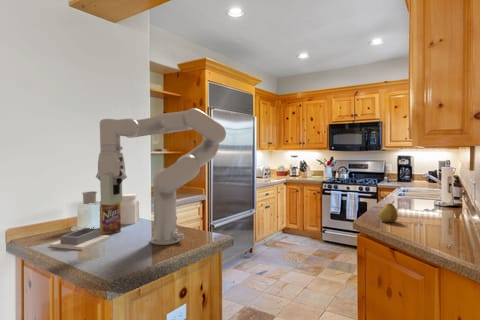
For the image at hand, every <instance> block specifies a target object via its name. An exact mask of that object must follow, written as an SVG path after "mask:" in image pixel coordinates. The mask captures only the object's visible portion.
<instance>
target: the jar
mask: <svg viewBox="0 0 480 320" xmlns="http://www.w3.org/2000/svg"><path fill="white" fill-rule="evenodd" d="M139 221H140V202H139V200H138V199H137V194H136V193H122V202H121V225H123V226H124V225H125V226H127V225H134V224H136V223H137V222H139Z"/></svg>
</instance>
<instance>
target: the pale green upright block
mask: <svg viewBox="0 0 480 320" xmlns="http://www.w3.org/2000/svg"><path fill="white" fill-rule="evenodd" d="M120 178H121V177H120ZM99 184H100V185H99V187H100V201H101V205H111V204H115V203H118V202H122V195H123V181H122V182H121V184H120V194H117V195H114V194H113V185H115V184H114V179H113V177H112V174H101V175H100V180H99Z"/></svg>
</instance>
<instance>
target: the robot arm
mask: <svg viewBox="0 0 480 320" xmlns="http://www.w3.org/2000/svg"><path fill="white" fill-rule="evenodd" d="M191 130H194V131H196V132H197V133H198V134H200V135H201V136H202V140H201V142H200V144H199V145H198V146H196V147H195V148H194V149H192V150H190V151H189V152H187V153H185V154H183V155H182V156H180V157H179V158H177V160H176V162H174V163H172V164H171V165H170V166H168V167H167V168H166V167H165V168H160V169H158V170H157V171H156V172H155V173H154V176H153V179H152V184H153V235H154V236H152V237H150V240H149V241H150V243H151V244H152V245H157V246H167V245H173V244H176V243H178V242H180V240H184V239H185V237H186V236H185V233H184V232H180V231H179V230H180V229H178V228H177V190H178V189H180V188H182V187H183V186H184V185H185V184H187V183H189V182H190V181H191V180H193V179H194V178H196V177H197V176H198V175H199V173H200V171H201V168H202V167H203V166H205V165H206V164H208V163H210V161H212V160H213V158H215V156H216V155H217V153H218V151H219V148H220V143H222V142H223V141H224V140H225V138H226V137H227V131H226V128H225V127H224V125H222V124H221V123H220V122H218V121H216V120H215V119H214V118H212V117H211V116H210V115H208V114H207V113H205V112H204V111H202V110H200V109H198V108H196V107H195V108H194V107H193V108H190V109H188V110H183V111H175V112H174V111H173V112H165V113H159V114H158V115H157V114H156V115H155V116H153V117H149V118H148V117H147V118H143V119H133V118H123V119H114V118H102V119H101V120H100V121H99V145H100V149H99V150H100V152H99V154H98V158H97V174H96V175H95V178H96V179H97V180H99V181H100V175H101V174H112V177H113V179H114V184H115V185H113V194H114V195H117V194H120V184H121V182H122V183H123V181H124V180H125V179H127V178H128V176H127V174H126V165H125V164H126V163H125V159H124V158H125V157H124V155H123V152H122V150H123V146H121V137H126V138H139V137H145V136H152V135H153V136H154V135H165V134H171V133H177V132H184V131H191ZM120 177H121V178H120Z"/></svg>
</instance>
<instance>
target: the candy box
mask: <svg viewBox="0 0 480 320" xmlns="http://www.w3.org/2000/svg"><path fill="white" fill-rule="evenodd" d="M121 225H122V224H121V202H118V203H115V204H111V205H101V200H100V201H99V229H100V235H107V234H113V233H114V234H115V233H121V231H122V226H121Z"/></svg>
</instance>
